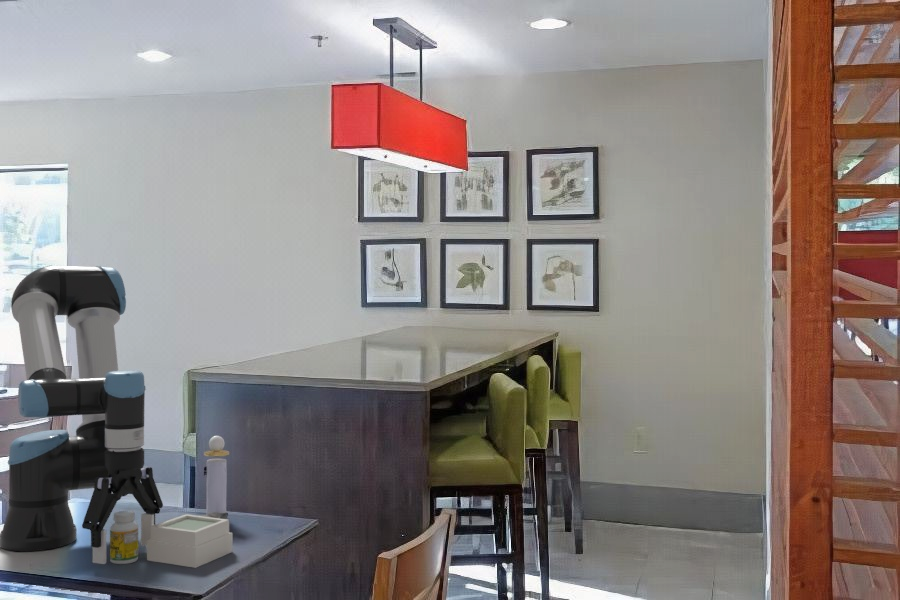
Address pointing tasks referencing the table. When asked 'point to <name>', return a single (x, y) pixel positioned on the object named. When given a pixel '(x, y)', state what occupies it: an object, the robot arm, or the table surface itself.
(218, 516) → the mineral specimen
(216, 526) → the display pedestal
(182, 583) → the table surface
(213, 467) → the perfume bottle
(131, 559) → the supplement bottle
